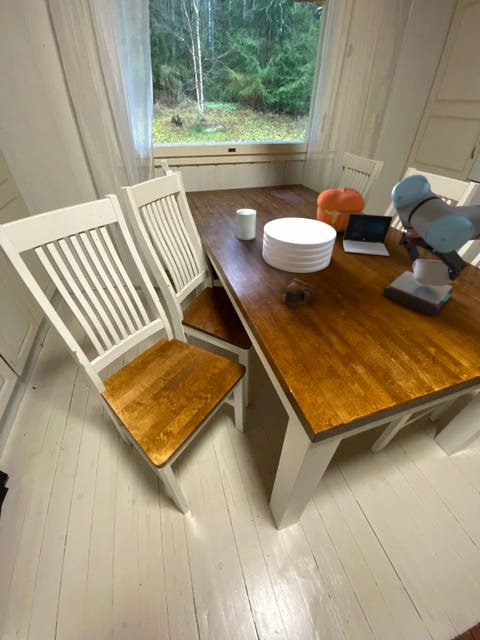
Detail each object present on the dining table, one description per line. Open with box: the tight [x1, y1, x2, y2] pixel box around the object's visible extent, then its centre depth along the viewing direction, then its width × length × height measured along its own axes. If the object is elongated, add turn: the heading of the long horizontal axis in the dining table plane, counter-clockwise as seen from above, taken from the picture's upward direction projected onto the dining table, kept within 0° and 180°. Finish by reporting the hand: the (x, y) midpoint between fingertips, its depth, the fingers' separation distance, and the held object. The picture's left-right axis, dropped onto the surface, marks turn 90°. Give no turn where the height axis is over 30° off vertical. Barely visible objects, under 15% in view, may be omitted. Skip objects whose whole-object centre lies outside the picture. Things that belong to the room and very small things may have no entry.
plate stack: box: [262, 217, 337, 274], centre depth 111 cm, size 28×28×12 cm
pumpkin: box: [316, 186, 366, 233], centre depth 134 cm, size 23×23×20 cm
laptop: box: [342, 213, 394, 257], centre depth 117 cm, size 18×12×13 cm
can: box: [235, 208, 257, 241], centre depth 127 cm, size 9×9×12 cm
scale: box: [382, 270, 455, 317], centre depth 90 cm, size 16×16×4 cm
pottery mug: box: [282, 277, 315, 308], centre depth 87 cm, size 12×10×8 cm
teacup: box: [412, 258, 452, 286], centre depth 87 cm, size 14×11×8 cm
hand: (434, 267), depth 86 cm, fingers closed on teacup, 13 cm apart
